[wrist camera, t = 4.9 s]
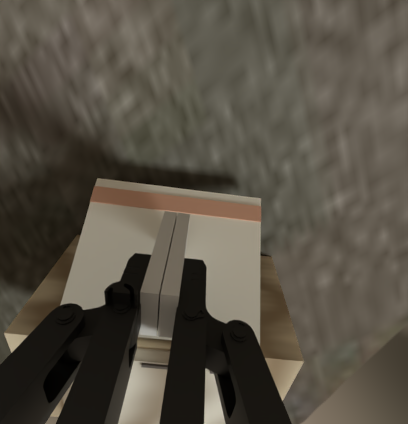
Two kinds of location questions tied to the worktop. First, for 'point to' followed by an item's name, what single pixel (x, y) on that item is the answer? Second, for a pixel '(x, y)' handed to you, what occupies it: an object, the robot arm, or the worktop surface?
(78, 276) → the stub
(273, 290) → the ticket block
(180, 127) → the worktop surface
